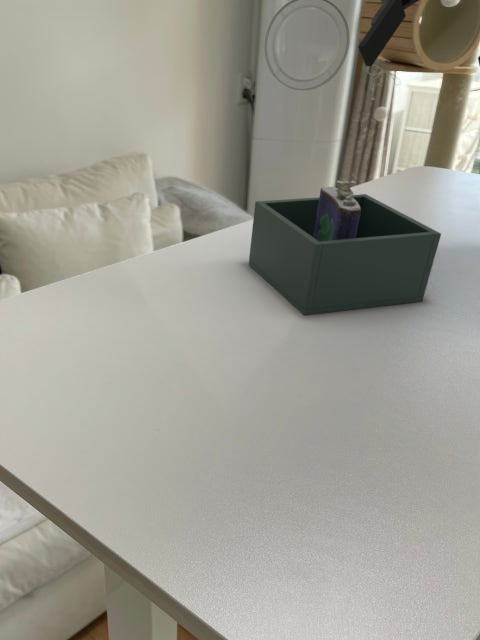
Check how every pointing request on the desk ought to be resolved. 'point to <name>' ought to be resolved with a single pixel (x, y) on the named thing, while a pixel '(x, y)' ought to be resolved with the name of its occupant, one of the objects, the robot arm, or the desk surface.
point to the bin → (341, 256)
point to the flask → (337, 213)
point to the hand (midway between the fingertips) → (420, 63)
